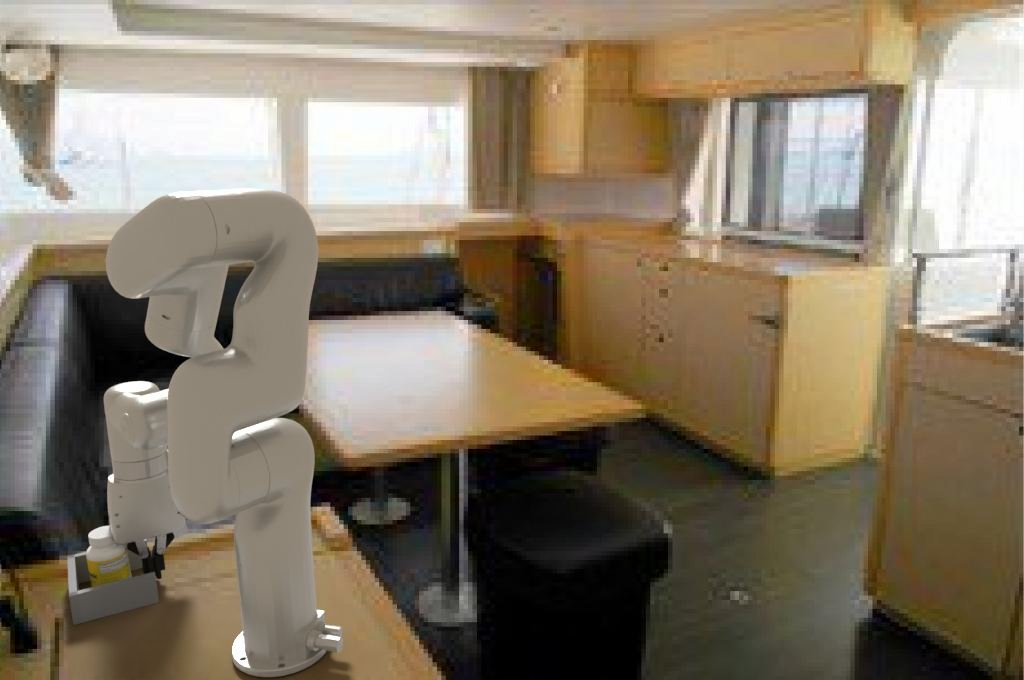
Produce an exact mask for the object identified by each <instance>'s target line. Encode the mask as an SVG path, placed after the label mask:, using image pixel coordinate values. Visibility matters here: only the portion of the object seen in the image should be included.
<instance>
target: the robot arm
mask: <svg viewBox="0 0 1024 680" xmlns="http://www.w3.org/2000/svg"><path fill="white" fill-rule="evenodd" d="M315 228H316V227H315V225H314V222H313V221H312V218H311V216H310V214H309V213H308V211H307V210H306V208H305V207H304V206H303V205H302V204H301V203H300V202H299V200H297V199H296V198H294V197H293V196H291V195H289V194H287V193H284V192H282V191H278V190H274V189H265V188H231V189H219V190H218V189H217V190H215V189H214V190H193V191H191V190H190V191H188V190H187V191H178V192H173V193H167V194H164V195H162V196H159V197H157V198H156V199H155V200H153V201H151V202H150V203H149V204H147V205H146V206H145V207H143V209H141V210H140V211H138V212H137V213H136V214H135V215H134V216H132V217H131V218H129V219H128V220H127V221H126V222H125V223H124V224H123V225H121V226H120V227H119V229H118V230H116V232H115V234H114V235H113V236H112V237H111V240H110V242H109V244H108V247H107V251H106V257H105V271H106V274H107V279H108V281H109V283H110V285H111V286H112V288H113V289H114V291H115V292H117V293H118V294H119V295H120V296H122V297H124V298H127V299H133V300H134V299H143V298H149V300H148V306H147V312H146V317H145V321H144V333H145V336H146V338H147V339H148V341H150V342H151V344H153V345H154V346H155V347H157V348H159V349H161V350H163V351H166V352H168V353H171V354H174V355H177V356H182V357H187V358H189V359H186V360H185V361H183V362H182V363H181V364H180V365H179V366H178V367H177V369H175V371H174V373H173V375H172V377H171V379H170V382H169V386H168V388H167V389H166V388H165V389H162V390H160V388H159V387H158V385H157V384H156V383H153V382H150V381H145V380H137V381H128V382H127V381H126V382H122V383H121V382H120V383H118V384H114V385H113V386H111V387H109V388H108V389H106V391H105V392H104V395H103V406H104V414H105V422H106V428H107V429H106V430H107V437H108V443H109V444H108V445H109V451H110V452H109V453H110V458H111V467H112V474H110V475H108V477H107V489H106V490H107V491H106V494H107V496H106V497H107V499H106V502H107V512H108V513H107V514H108V515H107V516H108V522H109V524H108V526H110V529H111V532H112V536H113V540H114V541H115V544H116V545H121V546H123V547H124V548H125V550H129V551H131V552H133V553H135V554H137V555H139V556H140V557H141V559H142V567H143V568H142V572H143V574H147V573H151V572H155V575H156V580H161V579H163V577H162V571H165V570H166V564H165V562H166V561H165V555H164V553H166V549H167V548H168V547H169V546H170V544H172V542H173V541H174V540H175V539H178V538H179V537H181V536H184V535H186V534H187V533H188V532H189V528H188V526H187V524H186V520H187V521H188V522H191V523H193V524H197V525H207V524H213V523H217V522H220V521H222V520H224V519H227V518H230V517H232V516H234V515H236V516H235V521H234V525H233V526H234V527H233V528H234V529H233V543H234V557H235V566H236V577H237V588H238V596H239V607H240V608H239V609H240V618H241V628H242V631H241V632H240V634H238V636H236V638H235V640H234V642H233V644H232V647H231V658H232V662H233V663H234V665H235V667H236V668H237V669H238V670H239V671H240V672H243V673H245V674H247V675H249V676H253V677H260V678H276V677H277V678H278V677H283V676H284V677H285V676H288V675H292V674H295V673H298V672H301V671H303V670H305V669H307V668H308V667H309V668H310V666H312V665H315V663H316V662H318V661H319V660H320V659H321V658H323V656H324V655H326V653H327V652H334V653H341V652H342V649H343V647H344V641H345V639H344V637H343V633H344V627H343V626H341V625H334V624H333V625H331V624H328V622H326V615H325V610H321V609H318V608H317V606H318V605H317V595H316V594H317V593H316V581H315V579H316V578H315V565H314V553H313V539H312V538H313V533H312V531H313V530H312V520H311V518H312V516H311V515H312V514H311V497H312V485H313V478H314V472H315V462H316V461H315V457H316V456H315V448H314V443H313V440H312V438H311V436H310V434H309V433H308V430H307V429H305V427H304V426H303V425H302V424H301V423H299V422H297V421H295V420H293V419H291V418H286V417H285V418H284V417H282V416H284V415H286V414H289V413H290V412H292V411H294V410H295V409H297V408H298V406H300V404H301V403H302V401H303V398H304V395H305V390H306V384H307V383H306V382H307V381H306V380H307V369H308V368H307V366H308V346H309V321H310V320H309V317H310V316H309V315H310V307H311V306H310V305H311V300H312V295H313V289H314V285H315V280H316V275H317V269H318V262H319V244H318V237H317V232H316V229H315ZM251 262H252V264H253V265H254V267H253V269H252V271H251V272H250V273H249V275H248V276H247V277H246V279H245V281H244V282H243V284H242V286H241V288H240V289H239V292H238V295H237V297H236V300H235V301H234V302H235V303H234V306H233V313H232V314H233V316H232V317H233V325H232V326H233V328H232V337H231V342H230V344H229V345H228V346H227V347H225V348H224V347H223V346H222V345H221V343H220V342H219V341H218V340H217V339H216V337H215V331H216V326H217V323H218V318H219V313H220V308H221V304H222V299H223V294H224V290H225V285H226V279H227V276H228V271H229V267H230V265H237V264H244V263H251ZM152 538H154V544H153V547H152V549H150V547H149V546H148V545H147V546H146V544H145V541H144V539H146V540H149V539H152Z"/></svg>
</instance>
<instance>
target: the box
mask: <svg viewBox="0 0 1024 680" xmlns="http://www.w3.org/2000/svg"><path fill="white" fill-rule="evenodd" d="M147 540H148V539H144V541H145V544H146V546H147V547H148V541H147ZM127 553H128V559H129V565H130V571H132V572H133V571H137V570H140V569H143V567H142V559H141V557H140V556H139V555H137V554H135V553H133V552H131V551H129V550H127ZM66 558H67V560H66V563H67V582H68V599H69V604H70V605H69V607H70V611H71V618H72V624H73V626H75V625H79V624H83V623H87V622H90V621H94V620H98V619H101V618H105V617H109V616H113V615H117V614H119V613H120V614H121V613H124V612H128V611H132V610H135V609H139V608H143V607H146V606H149V605H154V604H158V603H160V602H159V601H160V600H159V593H158V586H157V579H156V575H155V572H151V573H147V574H144V573H143V574H139V575H136V576H132V577H131V578H127V579H123V580H119V581H115V582H111V583H107V584H103V585H99V586H95V587H92V586H91V587H87V588H83V589H80V584H82V583H87V582H91V580H90V574H89V569H88V564H87V558H86V551H83V552H78V553H73V554H70V555H66Z"/></svg>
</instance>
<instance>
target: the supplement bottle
mask: <svg viewBox="0 0 1024 680" xmlns="http://www.w3.org/2000/svg"><path fill="white" fill-rule="evenodd" d="M87 535H88V536H87V537H88V543H89V546H88V548H87V549H86V551H85V552H86V558H87V564H88V569H89V574H90V580H91V581H90V583H91V587H95V586H99V585H103V584H107V583H111V582H115V581H119V580H123V579H127V578H131V577H133V576H132V572H131V571H130V565H129V559H128V553H127V550H125V548H124V547H123V546H121V545H116V544H115V541H114V540H113V536H112V532H111V529H110V525H103V526H99V527H97V528H94V529H93V530H91V531H90V532H89V533H88V534H87Z"/></svg>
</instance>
